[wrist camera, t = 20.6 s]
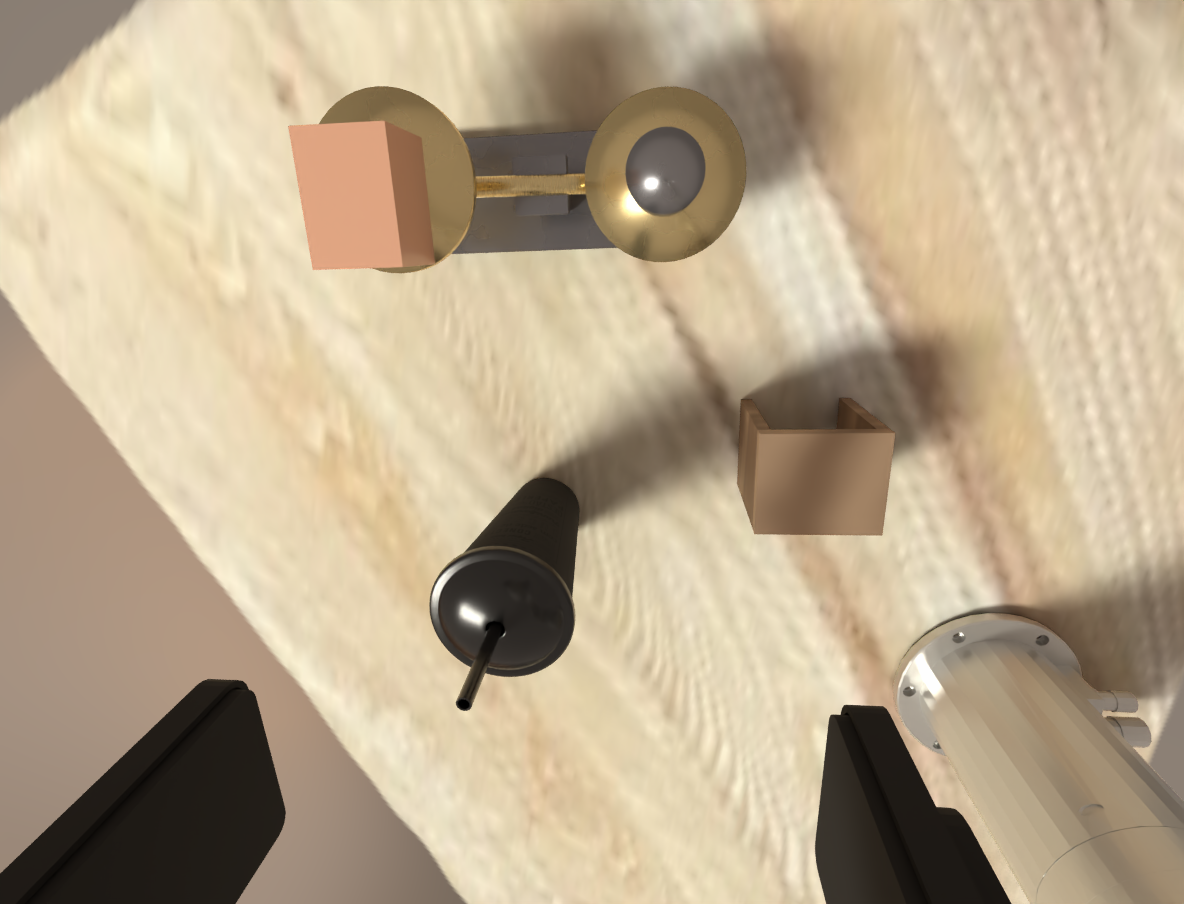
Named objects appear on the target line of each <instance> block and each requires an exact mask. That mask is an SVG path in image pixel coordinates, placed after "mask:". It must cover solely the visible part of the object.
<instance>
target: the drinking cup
mask: <svg viewBox="0 0 1184 904" xmlns="http://www.w3.org/2000/svg"><path fill="white" fill-rule="evenodd" d="M578 521H579V504H578V501H577V498H576V496H575V495H574V493H573V492H572V491H571V489H570V488H568V487H567V486H566V485H565V484H563V483H561V482H559V481H557V480H554V479H549V478H540V479H535V480H532V481H530V482H528V483H526V484H525V485H524V486H523V487H522V488H521V489H520V490H519V491H518V492H517V493H516V494H515V495H514V497H513V498H512V499H511V500H510V501H509V502H508V503H507V505H506V506H505V507H504V508H503V509H502V510H501V511H500V512H499V514H498V515H497V516H496V517H495V518H494V519H493V520H492V522H491V523H490V524H489V525H488V526H487V527H486V528H485V530H484V531H483V532H482V533H481V534H480V535H479V536H478V537H477V539H476V540H475V541H474V542H473V543H472V544H471V545H470V547H469V548H468V549H467V550H466V551H465V552H464V553H463V554H461V555H459V556H458V557H456V558H454V559H453V560H452V561H451V562H449V563H448V564H447V565H446V566H445V568H444V569H443V570H442V571H441V573H440V574H439V576H438V577H437V579H436V581H435V583H434V585H433V588H432V591H431V596H430V616H431V620H432V624H433V627H434V629H435V632H436V634H437V636H438V637H439V639H440V641H441V642H442V643H443V645H444V646H445V647H446V648H447V649H448V651H449V652H450V653H452V654H453V655H454V656H455V657H456V658H457V659H459V660H460V661H461V662H463V663H464V664H466V665H468V666H469V667H471V669H470V671H469V674H468V676H467V678H466V680H465V683H464V685H463V687H462V689H461V692H460V694H459V696H458V699H457V701H456V706H457V707H458V708H459V709H460V710H463V711H467V710H469V709H471V707H472V704H473V702H474V699H475V697H476V694H477V692H478V689H479V687H480V684H481V682H482V679H483V677H484V675H485V673H487V674H490V675H495V676H503V677H517V676H525V675H529V674H532V673H535V672H538V671H540V670H542V669H544V668H546V667H548V666H549V665H551V664H552V663H553V662H555V661H556V660H557V659H558V658H559V657H560V656H561V655H562V654H563V652H564V651H565V650H566V648H567V646H568V645H569V643H570V640H571V638H572V635H573V631H574V626H575V608H574V603H573V599H572V593H573V581H574V569H575V557H576V545H577V533H578Z"/></svg>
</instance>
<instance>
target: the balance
mask: <svg viewBox="0 0 1184 904" xmlns="http://www.w3.org/2000/svg"><path fill="white" fill-rule="evenodd" d="M368 121H386V122H389V123H391V124H393V125H395V126H397V127H399V128H402V129H404V130H406V131H408V132H410V133H412V134H415V135H417V136H419V137H421V138H422V147H423V156H424V165H425V175H426V184H427V193H428V202H429V211H430V221H431V230H432V239H433V248H434V258H435V264H433V265H422V266H410V267H390V268H373V269H376V270H379V271H383V272H389V273H408V272H416V271H420V270H424V269H427V268H430V267H432V266H434V265H436V264H438V263H440V262H441V261H443V260H444V259H445V258H447V257H448V256H449V255H450V254H463V253H489V252H515V251H542V250H568V249H594V248H619V249H621V250H622V251H624V252H625V253H627V254H629V255H631V256H633V257H636V258H639V259H642V260H647V261H652V262H670V261H677V260H681V259H685V258H687V257H690V256H692V255H695V254H697V253H698V252H700V251H702V250H704V249H705V248H707V247H708V246H709V245H711V244H712V243H713V242H714V241H715V240H716V239H717V238H719V237H720V236H721V234H722V233H723V232H724V231H725V230H726V228H727V227H728V226H729V224H730V223H731V221H732V220H733V218H734V216H735V214H736V212H737V210H738V208H739V205H740V202H741V200H742V197H743V192H744V188H745V181H746V159H745V152H744V148H743V144H742V141H741V138H740V136H739V133H738V131H737V129H736V127H735V125H734V124H733V122H732V120H731V119H730V118H729V116H728V115H727V114H726V113H725V111H724V110H723V109H722V108H721V107H719V106H718V105H717V104H716V103H715V102H714V101H712V100H711V99H709V98H708V97H706V96H704V95H702V94H700V93H698V92H696V91H693V90H689V89H686V88H680V87H659V88H653V89H649V90H646V91H642V92H640V93H638V94H636V95H634V96H632V97H630V98H629V99H627V100H625V101H624V102H622V103H621V104H620V105H619V106H618V107H616V108H615V109H614V110H613V111H612V112H611V113H610V114H609V115H608V116H607V118H606V119H605V120H604V122H603V123H602V124H601V126H600V127H599V129H598V131H581V132H564V133H547V134H530V135H513V136H496V137H479V138H463V137H462V135H461V134H460V132H459V131H458V129H457V128H456V127H455V125H454V124H453V123H452V122H451V120H450V119H449V118H448V117H447V116H446V115H445V114H444V113H443V112H442V111H440V110H439V109H438V108H437V107H436V106H434V105H433V104H431V103H430V102H428V101H427V100H425V99H424V98H422V97H420V96H418V95H416V94H414V93H412V92H409V91H406V90H403V89H400V88H394V87H382V86H376V87H370V88H364V89H361V90H358V91H355V92H353V93H351V94H349V95H347V96H345V97H344V98H342V99H341V100H340V101H338V102H337V103H336V104H335V105H334V106H333V107H332V108H330V109H329V110H328V112H327V113H326V114H325V116H324V117H323V118H322V120H321V121H320V123H319V124H332V123H350V122H368Z"/></svg>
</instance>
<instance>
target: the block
mask: <svg viewBox="0 0 1184 904" xmlns="http://www.w3.org/2000/svg"><path fill="white" fill-rule="evenodd" d="M288 127H289V133H290V139H291V145H292V151H293V157H294V162H295V168H296V174H297V180H298V186H299V192H300V197H301V203H302V209H303V215H304V221H305V227H306V232H307V238H308V244H309V250H310V256H311V262H312V267H313V270H322V269H356V268H390V267H410V266H422V265H433V264H435V258H434V248H433V239H432V230H431V221H430V211H429V202H428V193H427V184H426V175H425V165H424V156H423V147H422V138H421V137H419V136H417V135H415V134H412V133H410V132H408V131H406V130H404V129H402V128H399V127H397V126H395V125H393V124H391V123H389V122H386V121H368V122H350V123H332V124H314V125H296V126H288Z"/></svg>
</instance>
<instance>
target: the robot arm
mask: <svg viewBox="0 0 1184 904" xmlns="http://www.w3.org/2000/svg"><path fill="white" fill-rule="evenodd" d="M893 699H894V703H895V706H896V710H897V712H898V714H899V716H900V718H901V720H902V722H903V724H904V726H905V727H906V729H907V730H908V731H909V733H910V734H911V735H912V736H913V737H914V738H915V739H916V740H917V741H918V742H920V743H921V744H922V745H923V746H925V747H927V748H928V749H930V750H932V751H934V752H936V753H939V754H941V755H944V756H946V757H947V758H948V760H949V762H950V764H951V765H952V767H953V769H954V771H955V772H956V774H957V776H958V778H959V779H960V781H961V783H962V785H963V786H964V788H965V790H966V792H967V793H968V795H969V797H970V799H971V800H972V802H973V804H974V806H975V807H976V809H977V811H978V813H979V815H980V816H981V818H982V820H983V822H984V823H985V825H986V827H987V829H988V830H989V832H990V834H991V836H992V837H993V839H994V841H995V843H996V844H997V846H998V848H999V850H1000V851H1001V853H1002V855H1003V857H1004V858H1005V860H1006V862H1007V864H1008V865H1009V867H1010V869H1011V871H1012V872H1013V874H1014V876H1015V878H1016V879H1017V881H1018V883H1019V885H1020V886H1021V888H1022V890H1023V892H1024V893H1025V895H1026V897H1027V899H1028V901H1029V902H1030V904H1184V801H1183V800H1182V799H1181V798H1180V797H1179V796H1178V795H1177V793H1176V792H1175V791H1174V790H1173V789H1172V788H1171V787H1170V786H1169V785H1168V784H1167V783H1166V782H1165V781H1164V780H1163V779H1162V778H1161V777H1160V776H1159V775H1158V774H1157V772H1156V771H1154V769H1153V768H1152V767H1151V766H1150V765H1149V764H1148V763H1147V762H1146V761H1145V760H1144V759H1143V758H1142V757H1141V756H1140V755H1139V754H1138V752H1137V751H1136V750H1135V749H1134V748H1133V747H1143V748H1145V747H1148V746H1149V745H1150V743H1151V733H1150V730H1149V728H1148V726H1147V725H1146V723H1145V722H1144V721H1143V720H1141V719H1140V718H1138V717H1113V716H1107V717H1103V716H1102V712H1103V710H1104V711H1112V712H1129V713H1133V712H1136V711H1137V710H1138V702H1137V699H1136V697H1135V696H1134V694H1133V693H1131V692H1129V691H1097V690H1096V689H1095V688H1093V687H1091V686H1090V685H1089V684H1088V683H1087V682H1086V681H1085V680H1084V679H1083V677H1082V671H1081V666H1080V664H1079V662H1078V660H1077V658H1076V656H1075V654H1074V652H1073V651H1072V650H1071V649H1070V648H1069V646H1068V645H1067V644H1066V643H1065V642H1064V641H1063V640H1062V639H1061V638H1060V637H1059V636H1058V635H1057V634H1055V633H1054V632H1053V631H1052V630H1050V629H1049V628H1047V627H1045V626H1044V625H1042V624H1041V623H1039V622H1036V621H1033V620H1031V619H1028V618H1025V617H1022V616H1016V615H1011V614H1001V613H986V614H978V615H970V616H967V617H963V618H960V619H956V620H953V621H950V622H948V623H946V624H944V625H942V626H939V627H937V628H936V629H934V630H933V631H931V632H929V633H928V634H926V635H925V636H923V637H922V638H921V639H920V640H919V641H918V642H917V643H916V644H915V645H913V646H912V647H911V648H910V650H909V651H908V652H907V654H906V655H905V656H904V658H903V659H902V661H901V663H900V665H899V667H898V669H897V672H896V674H895V679H894V684H893ZM285 813H286V812H285V806H284V802H283V798H282V795H281V791H280V787H279V784H278V779H277V775H276V772H275V768H274V764H273V761H272V756H271V753H270V749H269V745H268V742H267V737H266V734H265V730H264V726H263V722H262V719H261V714H260V711H259V707H258V703H257V700H256V696H255V694H254V692H252V691H251V690H249V689H248V687H247V685H246V684H245V683H244V682H243V681H239V680H218V679H217V680H216V679H207V680H205V681H202V682H201V683H199V684H198V685H197V686H196V687H195V688H194V689H193V690H192V691H190V692H189V693H188V694H187V695H186V696H185V697H184V698H183V699H182V700H181V701H180V702H179V703H178V704H177V705H176V706H175V707H174V708H173V709H172V710H171V711H170V712H169V713H168V714H166V715H165V717H163V718H162V719H161V720H160V721H159V722H158V723H157V724H156V725H155V726H154V727H153V728H152V729H151V730H150V731H149V732H148V733H147V734H146V735H145V736H143V738H142V739H140V740H139V741H138V742H137V743H136V744H135V745H134V746H133V747H132V748H131V749H130V750H129V751H128V752H127V753H126V754H125V755H124V756H123V757H122V758H120V759H119V760H118V762H116V763H115V764H114V765H113V766H112V767H111V768H110V769H109V770H108V771H107V772H106V773H105V774H104V775H103V776H102V777H101V778H100V779H99V780H98V781H96V782H95V783H94V784H93V785H92V786H91V787H90V788H89V789H88V790H87V791H86V792H85V793H84V794H83V795H82V796H81V797H80V798H79V799H78V800H77V801H76V802H75V803H74V804H72V805H71V807H69V808H68V809H67V810H66V811H65V812H64V813H63V814H62V815H61V816H60V817H59V818H58V819H57V820H56V821H55V822H54V823H53V824H52V825H51V826H49V827H48V828H47V829H46V830H45V831H44V832H43V833H42V834H41V835H40V836H39V837H38V838H37V839H36V840H35V841H34V842H33V843H32V844H31V845H30V846H29V847H28V848H27V849H25V850H24V851H23V852H22V853H21V854H20V855H19V856H18V857H17V858H16V859H15V860H14V861H13V862H12V863H11V864H10V865H9V866H8V867H7V868H6V869H5V870H4V871H3V872H1V873H0V904H236V902H237V900H238V899H239V897H240V896H241V894H242V893H243V891H244V889H245V888H246V886H247V885H248V883H249V882H250V880H251V878H252V877H253V875H254V874H255V872H256V871H257V869H258V868H259V866H260V864H261V863H262V861H263V860H264V858H265V856H266V855H267V853H268V852H269V850H270V849H271V847H272V846H273V844H274V842H275V841H276V839H277V838H278V836H279V834H280V832H281V830H282V828H283V825H284V821H285ZM815 854H816V863H817V869H818V873H819V877H820V881H821V885H822V889H823V893H824V896H825V900H826V904H1011V902H1010V900H1009V898H1008V897H1007V895H1006V893H1005V891H1004V889H1003V887H1002V885H1001V884H1000V882H999V880H998V878H997V876H996V874H995V872H994V871H993V869H992V867H991V865H990V863H989V861H988V860H987V858H986V856H985V854H984V852H983V850H982V848H981V847H980V845H979V843H978V841H977V839H976V837H975V836H974V834H973V832H972V830H971V828H970V826H969V825H968V823H967V822H966V820H965V819H964V817H963V816H962V815H961V814H960V813H959V812H958V811H957V810H956V809H952V808H942V807H936V806H935V804H934V802H933V800H932V798H931V796H930V794H929V792H928V790H927V788H926V786H925V784H924V782H923V780H922V778H921V776H920V774H919V772H918V770H917V768H916V766H915V764H914V762H913V760H912V758H911V756H910V754H909V752H908V750H907V748H906V746H905V744H904V742H903V740H902V738H901V736H900V734H899V732H898V730H897V728H896V726H895V724H894V722H893V720H892V718H891V716H890V714H889V712H888V711H887V709H886V708H884V707H883V706H860V705H844V706H843V708H842V711H841V715H831V716H830V718H829V725H828V734H827V743H826V752H825V761H824V770H823V779H822V787H821V796H820V805H819V814H818V823H817V832H816V841H815Z"/></svg>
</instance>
